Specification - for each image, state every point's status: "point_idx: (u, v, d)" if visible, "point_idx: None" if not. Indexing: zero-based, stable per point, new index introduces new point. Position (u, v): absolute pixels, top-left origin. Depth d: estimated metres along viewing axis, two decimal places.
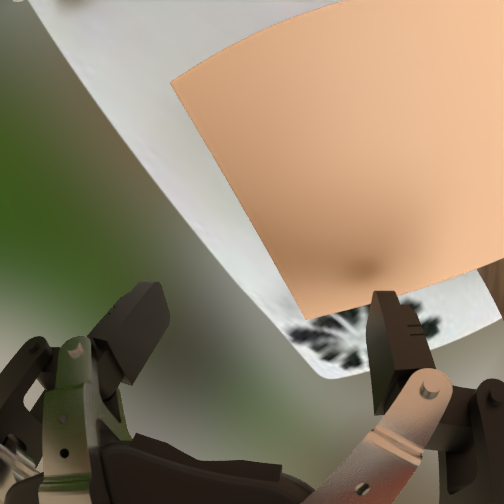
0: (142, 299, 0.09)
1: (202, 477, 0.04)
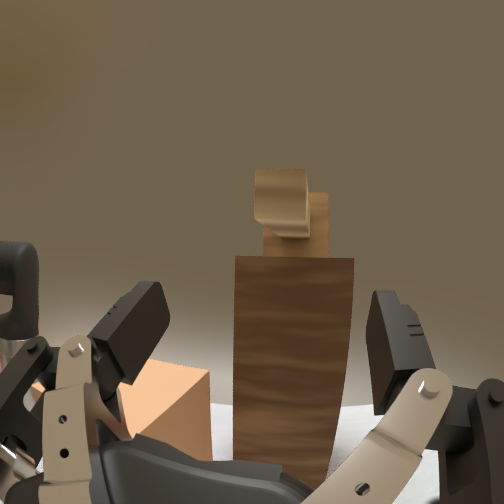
0: (142, 299, 0.09)
1: (202, 477, 0.04)
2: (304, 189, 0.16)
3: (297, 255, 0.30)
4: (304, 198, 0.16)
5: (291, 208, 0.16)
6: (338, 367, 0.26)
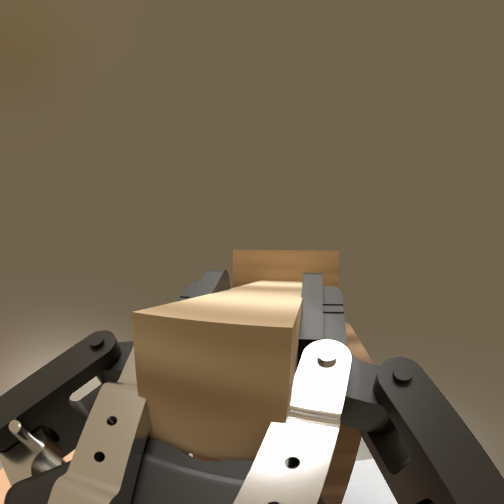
0: (216, 287, 0.10)
1: (202, 477, 0.04)
2: (283, 399, 0.04)
3: None
4: None
5: (238, 444, 0.04)
6: (334, 491, 0.14)
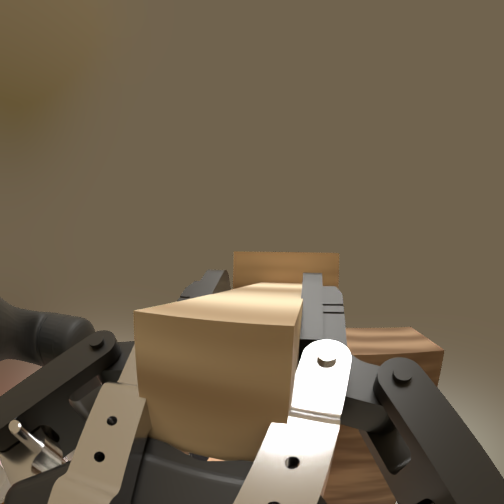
0: (216, 287, 0.10)
1: (202, 477, 0.04)
2: (285, 397, 0.04)
3: None
4: (282, 422, 0.04)
5: (239, 443, 0.04)
6: None
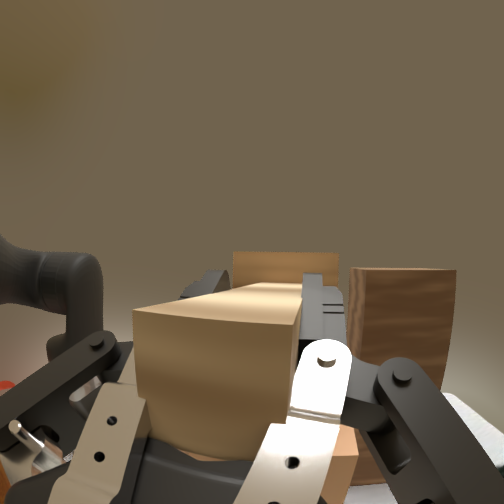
0: (216, 287, 0.10)
1: (202, 477, 0.04)
2: (283, 397, 0.04)
3: None
4: (281, 421, 0.04)
5: (238, 443, 0.04)
6: (441, 361, 0.27)
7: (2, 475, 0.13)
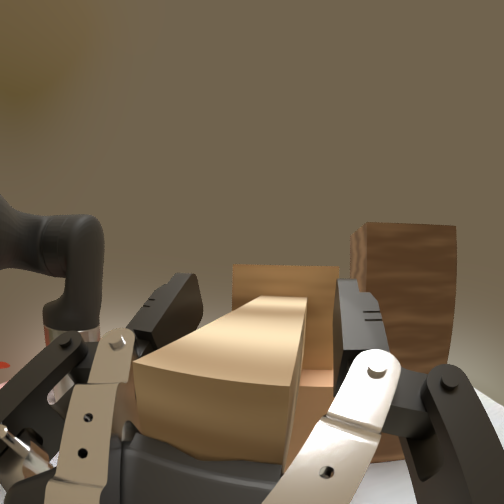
0: (181, 290, 0.10)
1: (202, 477, 0.04)
2: (280, 445, 0.04)
3: None
4: None
5: None
6: (447, 320, 0.27)
7: None
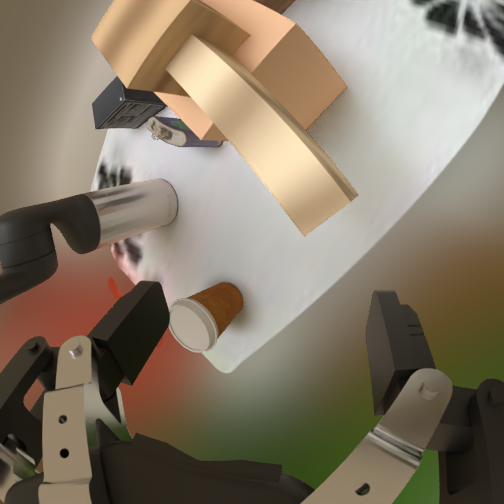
0: (142, 299, 0.09)
1: (202, 477, 0.04)
2: None
3: None
4: (354, 197, 0.14)
5: None
6: None
7: (214, 294, 0.45)
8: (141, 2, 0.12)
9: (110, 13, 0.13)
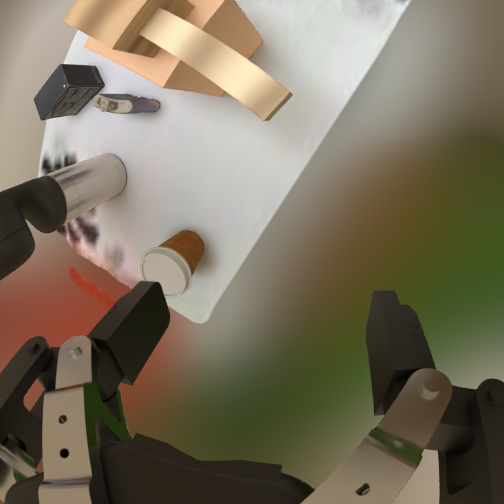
0: (142, 299, 0.09)
1: (202, 477, 0.04)
2: (290, 94, 0.19)
3: None
4: (291, 94, 0.19)
5: (285, 101, 0.20)
6: None
7: (177, 240, 0.48)
8: None
9: None
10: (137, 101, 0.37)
